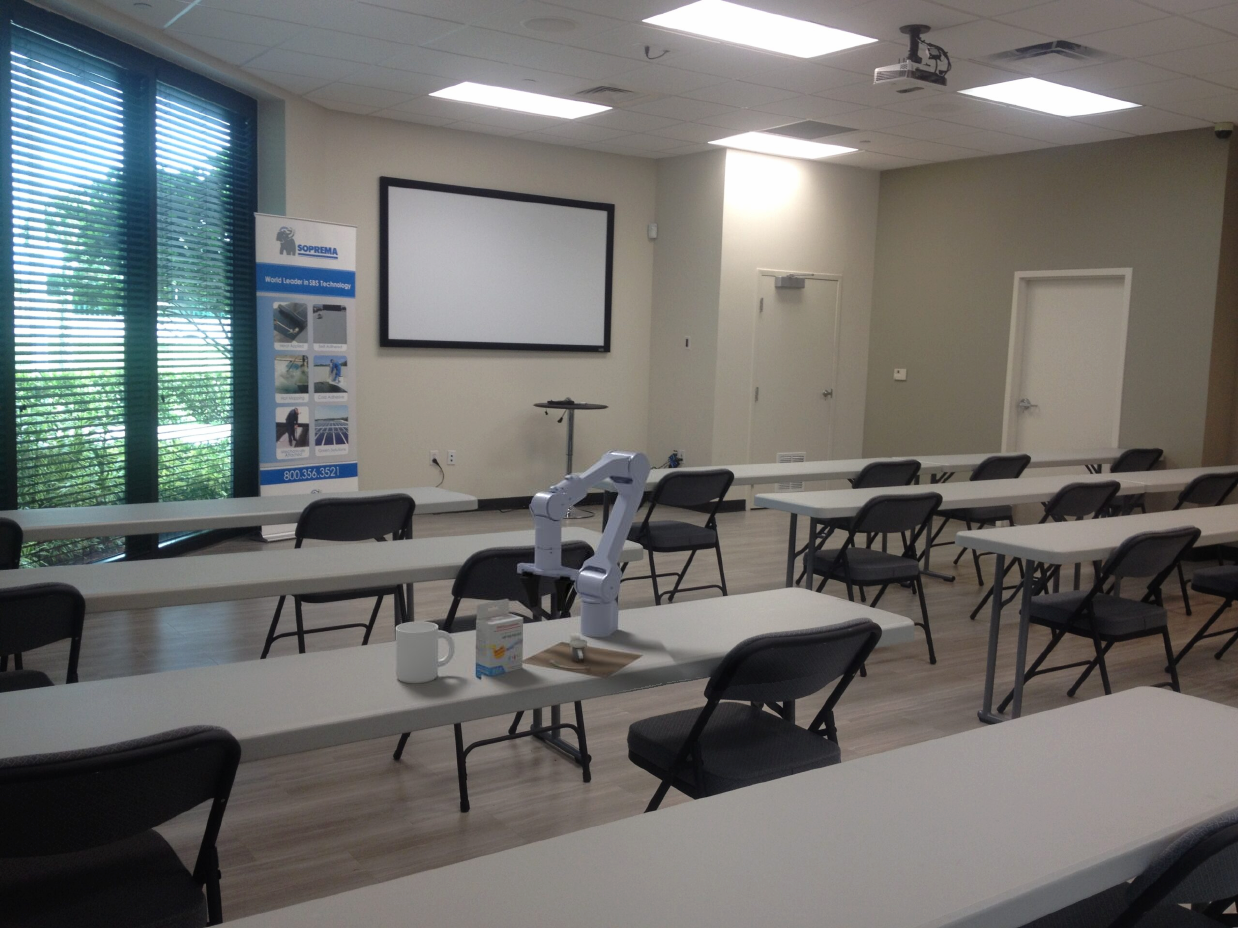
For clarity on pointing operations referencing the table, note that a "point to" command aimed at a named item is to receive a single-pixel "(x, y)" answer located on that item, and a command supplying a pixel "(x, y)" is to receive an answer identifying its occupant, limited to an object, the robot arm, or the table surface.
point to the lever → (577, 647)
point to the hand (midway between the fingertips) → (547, 608)
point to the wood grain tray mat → (593, 664)
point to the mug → (420, 651)
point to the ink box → (498, 639)
